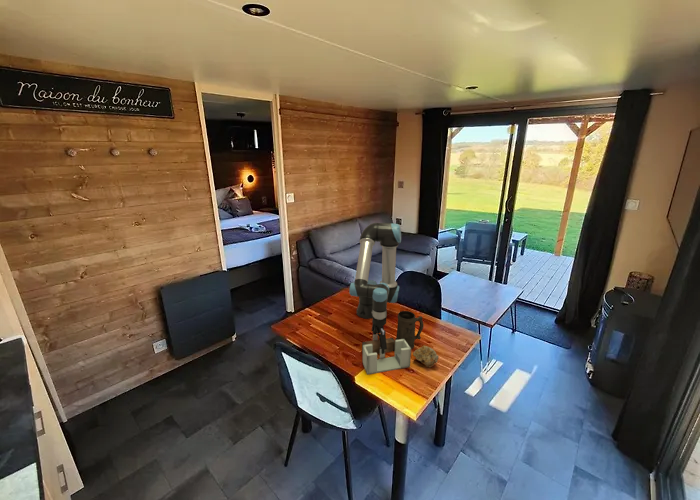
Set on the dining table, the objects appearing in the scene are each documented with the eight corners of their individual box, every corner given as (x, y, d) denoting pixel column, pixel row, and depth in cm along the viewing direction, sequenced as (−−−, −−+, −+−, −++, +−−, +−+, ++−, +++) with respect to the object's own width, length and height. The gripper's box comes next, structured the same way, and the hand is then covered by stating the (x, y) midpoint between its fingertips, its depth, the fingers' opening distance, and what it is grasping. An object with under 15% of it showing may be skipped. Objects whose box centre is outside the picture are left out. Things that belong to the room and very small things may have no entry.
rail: (364, 355, 163) (364, 346, 161) (362, 351, 167) (362, 342, 165) (395, 350, 167) (395, 341, 165) (392, 346, 171) (392, 337, 169)
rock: (433, 357, 162) (434, 341, 159) (439, 370, 152) (440, 353, 149) (411, 357, 161) (412, 341, 158) (415, 370, 151) (416, 354, 148)
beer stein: (399, 352, 166) (402, 320, 160) (391, 341, 176) (394, 310, 170) (423, 349, 170) (428, 317, 164) (414, 338, 180) (419, 308, 174)
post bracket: (362, 363, 158) (362, 345, 154) (403, 356, 163) (404, 338, 159) (367, 374, 149) (367, 355, 146) (410, 367, 154) (411, 348, 151)
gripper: (366, 306, 171) (366, 339, 177) (380, 329, 148) (379, 365, 155) (378, 305, 172) (378, 337, 179) (394, 327, 150) (392, 363, 157)
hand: (378, 350), depth 167 cm, fingers open, 12 cm apart
